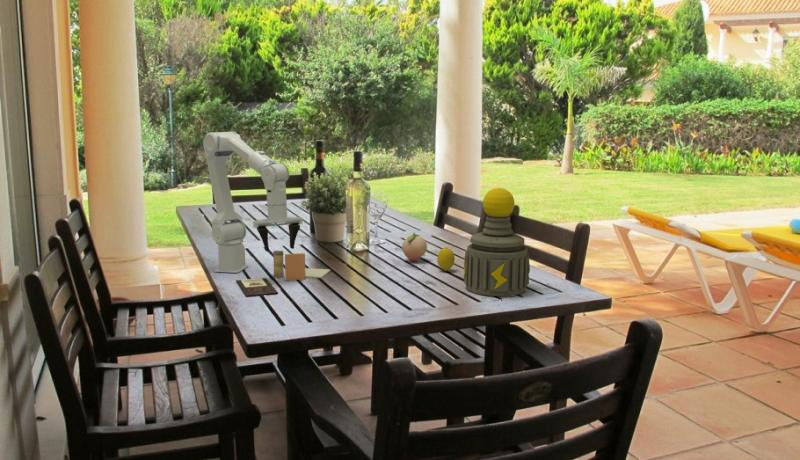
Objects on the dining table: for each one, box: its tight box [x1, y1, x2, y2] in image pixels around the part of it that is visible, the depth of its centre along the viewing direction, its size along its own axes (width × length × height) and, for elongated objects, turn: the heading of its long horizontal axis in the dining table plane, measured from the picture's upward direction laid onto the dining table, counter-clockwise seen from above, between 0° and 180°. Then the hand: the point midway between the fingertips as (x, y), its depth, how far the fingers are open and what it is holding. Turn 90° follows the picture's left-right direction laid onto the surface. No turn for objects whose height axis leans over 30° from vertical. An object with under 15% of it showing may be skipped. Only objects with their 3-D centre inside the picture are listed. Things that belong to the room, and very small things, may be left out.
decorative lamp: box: [463, 187, 531, 298], centre depth 214 cm, size 19×19×30 cm
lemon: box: [436, 246, 455, 272], centre depth 237 cm, size 6×6×8 cm
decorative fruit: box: [401, 232, 428, 262], centre depth 251 cm, size 9×8×10 cm
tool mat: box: [305, 267, 331, 279], centre depth 233 cm, size 10×9×1 cm
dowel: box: [272, 250, 285, 279], centre depth 228 cm, size 3×3×8 cm
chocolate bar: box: [235, 277, 279, 298], centre depth 216 cm, size 9×1×18 cm
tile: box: [284, 252, 306, 281], centre depth 225 cm, size 1×6×8 cm, turn 110°
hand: (279, 249), depth 221 cm, fingers open, 7 cm apart
